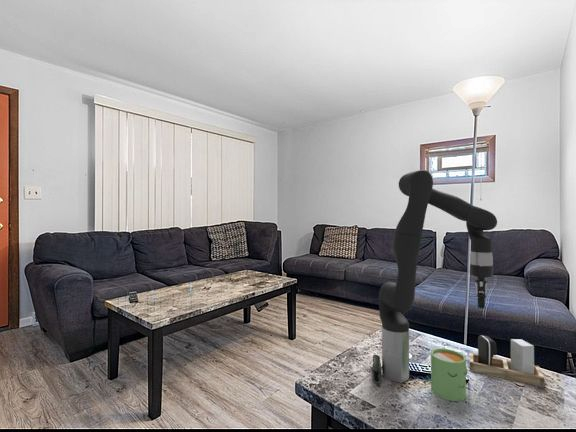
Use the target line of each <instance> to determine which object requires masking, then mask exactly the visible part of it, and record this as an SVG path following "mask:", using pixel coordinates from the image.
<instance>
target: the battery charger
mask: <svg viewBox="0 0 576 432" xmlns="http://www.w3.org/2000/svg"><path fill="white" fill-rule="evenodd" d="M477 352H478V353H477V354H478V363H481V364H486V365H490V366H492V358H493V357H494V356H497V355H498V353H497V352H498V349H497V343H496V341H495V340H494V339H492V338H491V337H490V336H489V335H481V334H480V335H478V337H477Z"/></svg>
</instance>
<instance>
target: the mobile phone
mask: <svg viewBox="0 0 576 432" xmlns="http://www.w3.org/2000/svg"><path fill="white" fill-rule="evenodd" d="M381 362H382V361H381V357H380V356H379V355H378V354H373V355H372V367H371V369H372V371H371V372H372V373H371V374H372V380H373V382H374V383H376V384H377V386H378V388H380V387H381V383H380V382H381V378H382V363H381Z"/></svg>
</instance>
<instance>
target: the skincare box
mask: <svg viewBox="0 0 576 432" xmlns="http://www.w3.org/2000/svg"><path fill="white" fill-rule="evenodd" d="M510 361H511V370H514V371H519V372H524V373H529V374H533V375H534V365H535V346H534V345H533V344H531V343H529V342H528V341H525V340H523V339H522V338H521V339H518V338H517V339H514V338H511V339H510Z"/></svg>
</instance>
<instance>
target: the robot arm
mask: <svg viewBox="0 0 576 432" xmlns="http://www.w3.org/2000/svg"><path fill="white" fill-rule="evenodd" d="M433 187H434V180H433V176H432V174H431V173H430V172H429V171H428V170H426V169H417V170H414V171H411V172H407V173H405V174H403V175H402V176H401V177H400V178H399V181H398V188H399V191H400V192H401V193H402V194H403V195H405V196H406V197H408V201H407V206H406V209H405V210H404V213H403V214H402V216H401V217H400V219H399V221H398V223H397V225H396V227H395V231H394V235H393V242H392V251H393V255H394V257H395V261H396V266H397V278H396V282H392V281H387V282H385V283H383V284H382V285H381V286H380V289H379V293H378V306H379V309H378V311H379V319H380V322H381V359H382V360H381V362H382V363H381V375H382V376H383V378H384V379H385V380H389V381H393V382H396V383H400V384H402V383H404V382H405V381H408V380H409V379H410V359H409V353H410V323H409V321H408V319H407V318H406V317H405V315H404V314H403V313H407V312H409V311H410V310H411V309H412V307H413V305H414V302H415V301H414V300H415V295H416V278H417V269H418V267H417V266H418V261H419V253H420V251H421V250H420V249H421V243H422V238H423V229H424V224H425V219H426V213H427V209H428V205H431V206H433V207H435V208H437V209H439V210H441V211H442V212H444V213H447V214H449V215H450V216H452V217H453V218H456V219H458V220H460V221H462V222H466V223H465V225H466V229H467V233H468V237H469V240H470V254H469V274H470V276H473V277H476V278H477V279H475V278H474V282H475V283H474V285H475V292H476V293H477V294H476V297H477V308H478V309H486V308H485V307H486V305H485V303H486V302H485V301H486V294H487V287H488V279H487V280H486V278H491V277H493V276H494V272H493V271H494V258H493V241H492V238H491V237H489V236H486V235H485V232H484V231H492V230H494V229H495V228H496V227H497V225H498V220H497V217H496V215H495V214H494V213H492V212H491V211H489V210H487V209H484V208H482V207H478V206H475V205H473V204H470V203H469V202H468V201H466V200H464V199H462V198H460V197H459V196H456V195H453V194H450V193H447V192H444V191H440V190H438V189H435V188H433Z"/></svg>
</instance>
